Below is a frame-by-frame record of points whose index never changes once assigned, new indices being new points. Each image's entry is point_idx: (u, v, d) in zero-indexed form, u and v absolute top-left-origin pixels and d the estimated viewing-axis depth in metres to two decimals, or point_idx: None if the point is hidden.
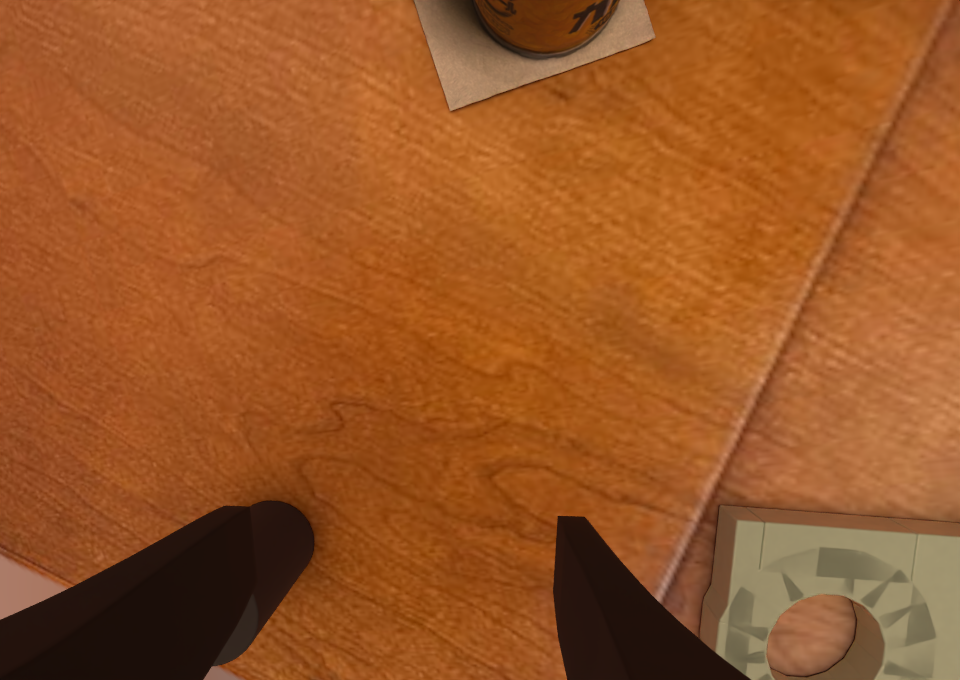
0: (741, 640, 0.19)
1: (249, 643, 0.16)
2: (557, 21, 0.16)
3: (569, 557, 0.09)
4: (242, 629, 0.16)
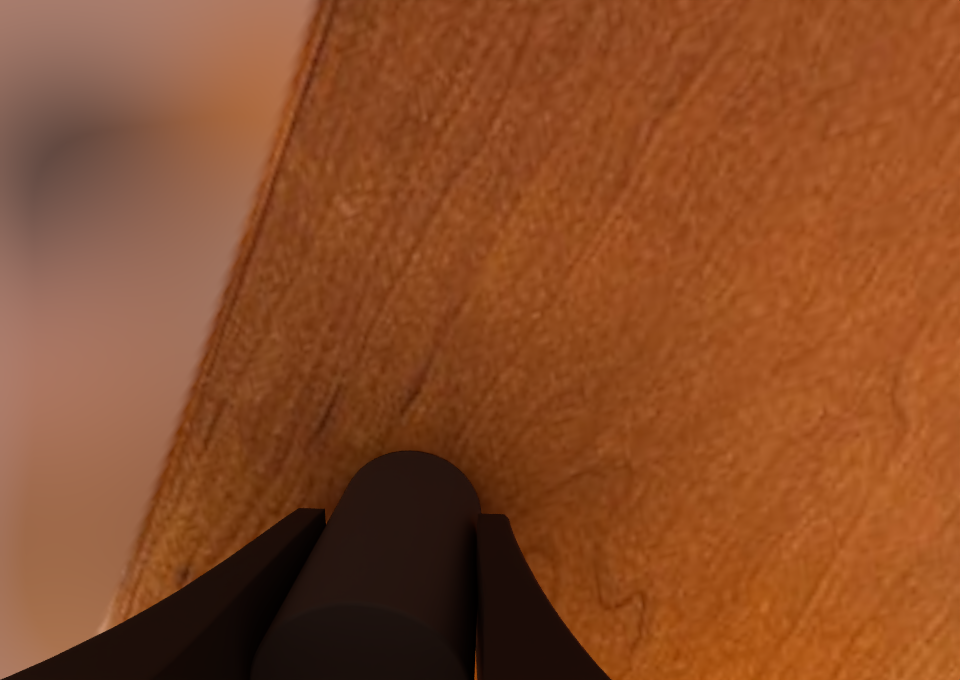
0: None
1: None
2: None
3: (477, 554, 0.09)
4: None
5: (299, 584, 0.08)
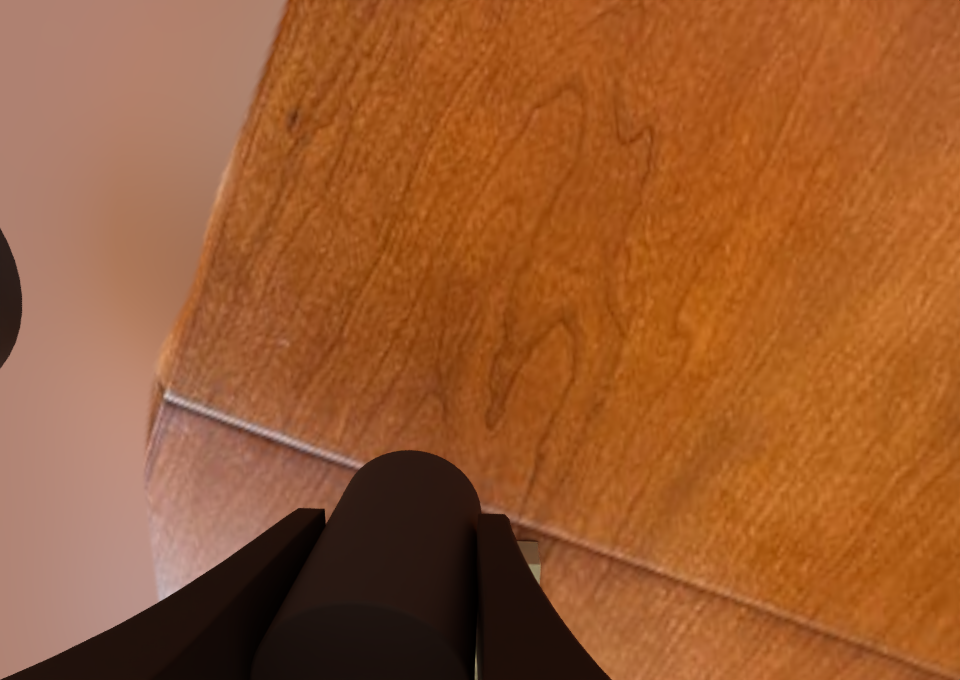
0: None
1: None
2: None
3: (477, 554, 0.09)
4: None
5: (299, 583, 0.08)
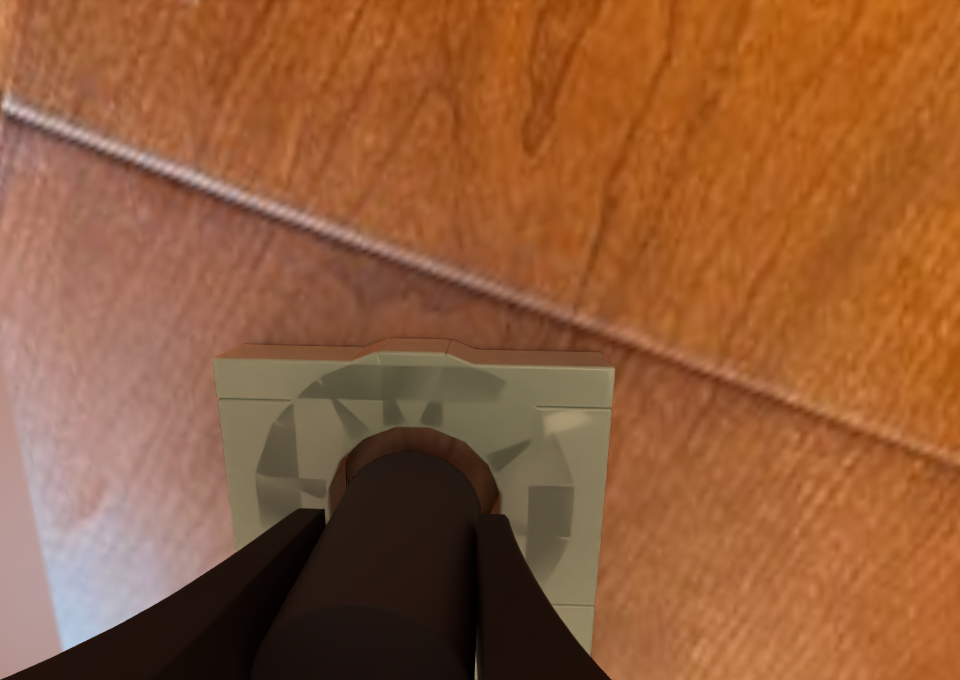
0: (418, 389, 0.12)
1: None
2: None
3: (477, 554, 0.09)
4: None
5: (299, 584, 0.08)
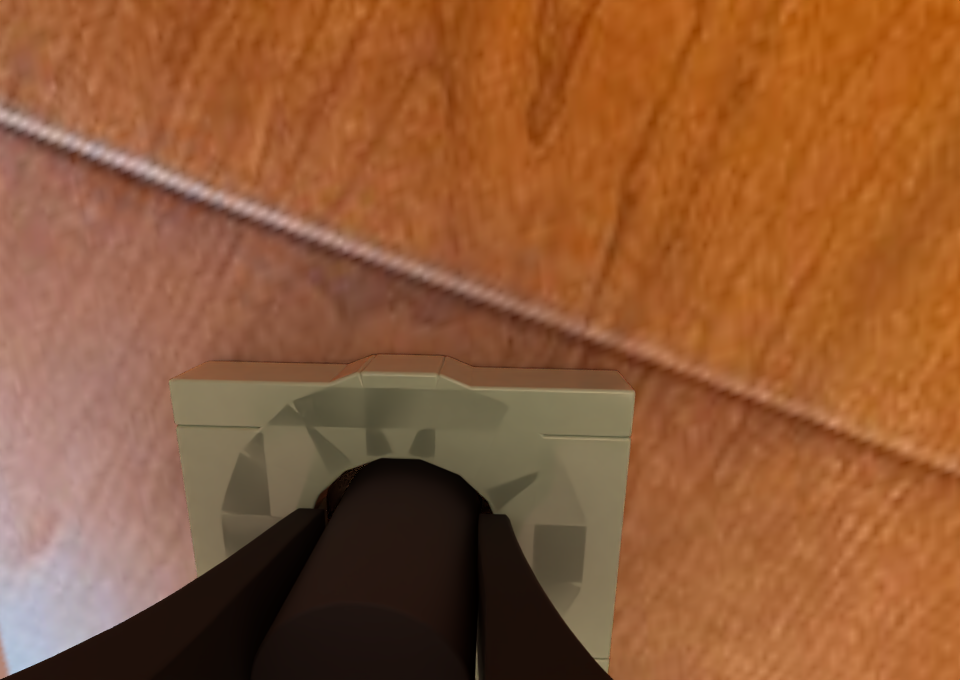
0: (407, 414, 0.10)
1: None
2: None
3: (479, 554, 0.09)
4: None
5: (300, 584, 0.08)
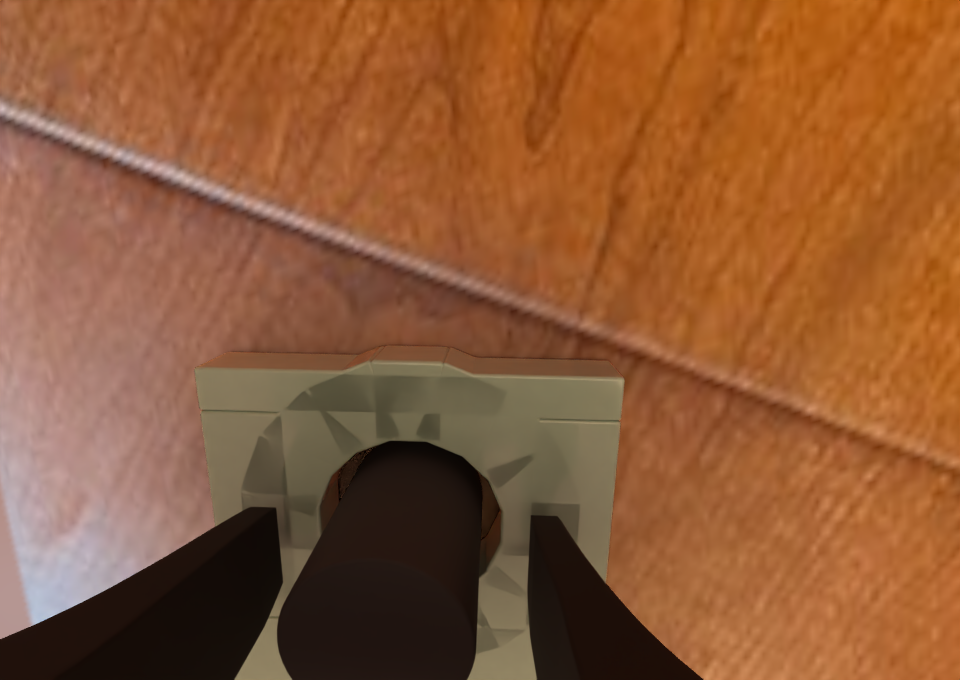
0: (414, 400, 0.11)
1: None
2: None
3: (538, 556, 0.09)
4: None
5: (320, 547, 0.09)
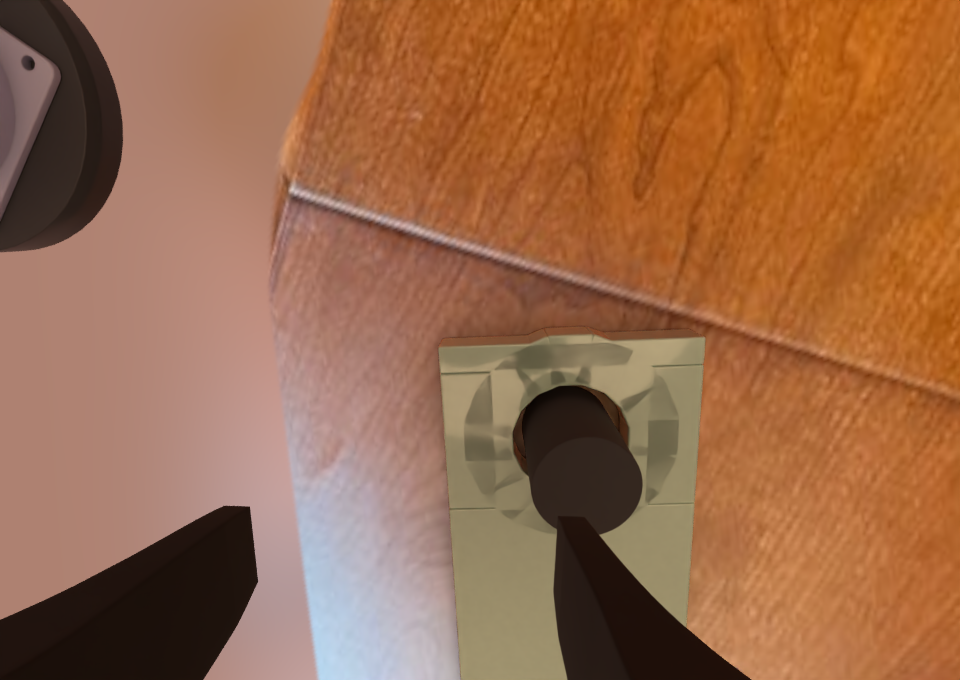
0: (574, 359, 0.18)
1: None
2: None
3: (569, 557, 0.09)
4: None
5: (545, 439, 0.16)
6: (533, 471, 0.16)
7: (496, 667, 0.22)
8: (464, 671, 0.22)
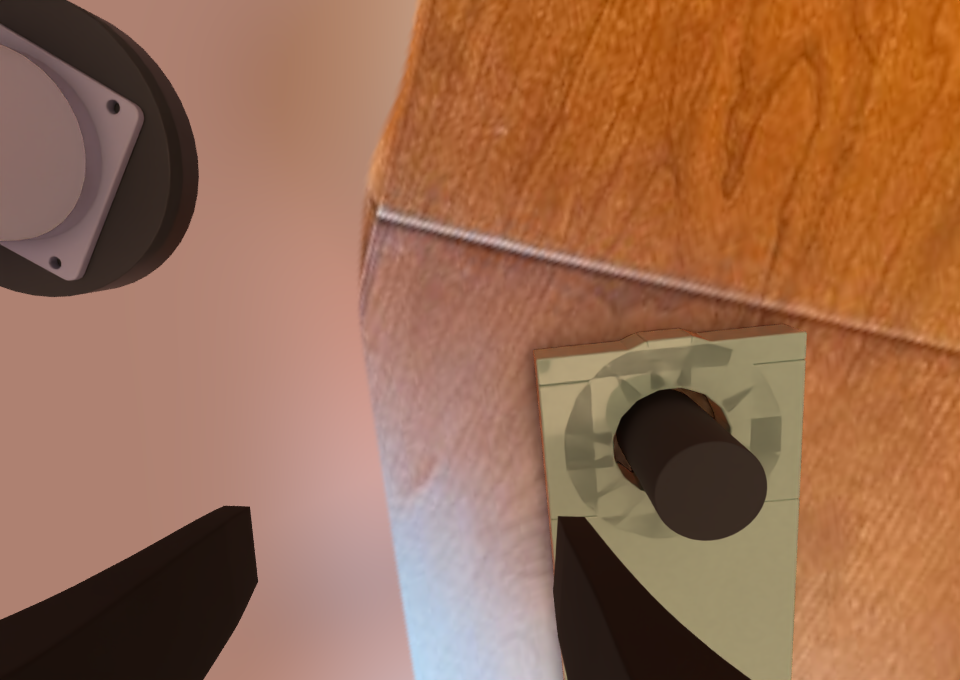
0: (674, 362, 0.18)
1: (684, 536, 0.16)
2: None
3: (569, 557, 0.09)
4: (698, 528, 0.16)
5: (661, 446, 0.16)
6: (655, 479, 0.15)
7: None
8: None
